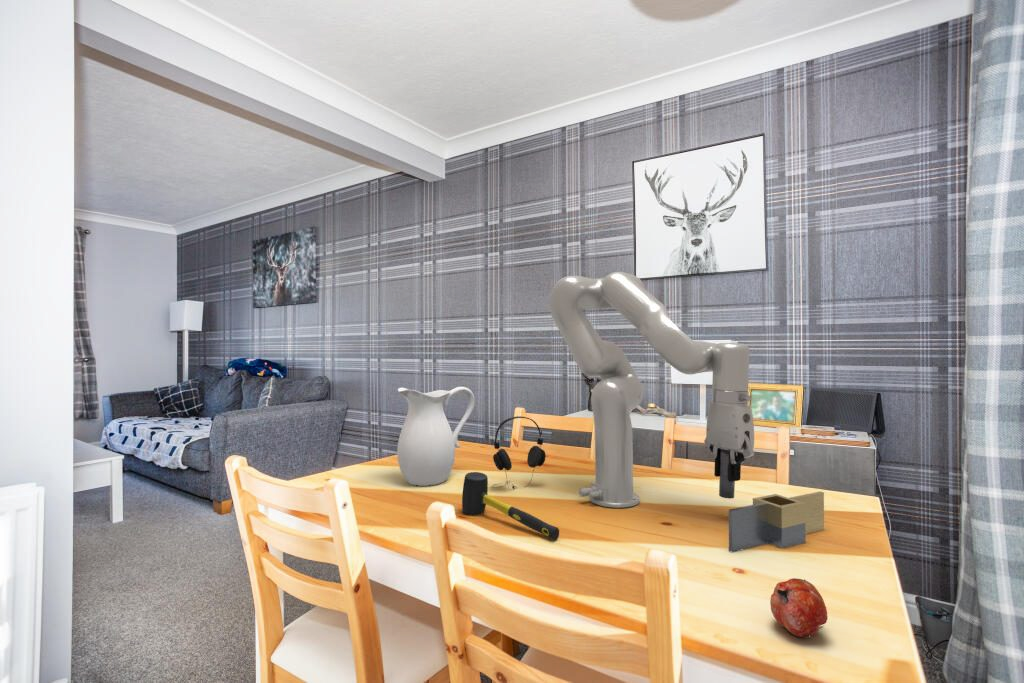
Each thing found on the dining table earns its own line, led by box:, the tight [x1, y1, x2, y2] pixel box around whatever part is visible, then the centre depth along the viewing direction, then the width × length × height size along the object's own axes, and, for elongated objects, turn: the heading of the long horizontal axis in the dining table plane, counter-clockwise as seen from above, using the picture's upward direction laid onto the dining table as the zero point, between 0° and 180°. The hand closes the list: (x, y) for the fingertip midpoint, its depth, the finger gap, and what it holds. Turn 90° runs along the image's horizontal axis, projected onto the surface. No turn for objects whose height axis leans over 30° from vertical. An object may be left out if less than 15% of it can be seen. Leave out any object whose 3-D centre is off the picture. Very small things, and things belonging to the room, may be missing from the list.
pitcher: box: [396, 386, 476, 487], centre depth 155 cm, size 24×17×28 cm
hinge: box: [728, 491, 825, 553], centre depth 106 cm, size 27×7×8 cm, turn 114°
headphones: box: [492, 415, 547, 491], centre depth 146 cm, size 15×11×20 cm
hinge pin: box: [718, 444, 736, 500], centre depth 117 cm, size 4×4×12 cm
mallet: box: [461, 471, 560, 541], centre depth 117 cm, size 29×6×10 cm, turn 45°
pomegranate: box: [770, 577, 828, 638], centre depth 73 cm, size 7×7×10 cm
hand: (727, 477), depth 117 cm, fingers closed on hinge pin, 3 cm apart
